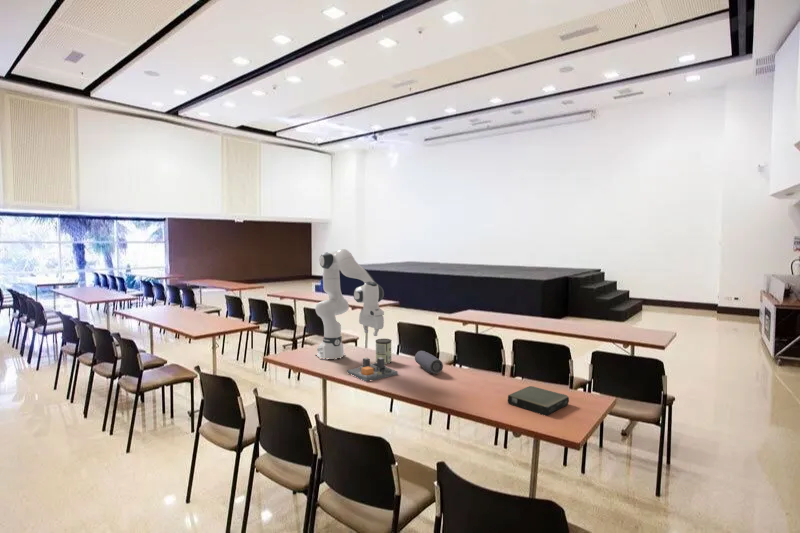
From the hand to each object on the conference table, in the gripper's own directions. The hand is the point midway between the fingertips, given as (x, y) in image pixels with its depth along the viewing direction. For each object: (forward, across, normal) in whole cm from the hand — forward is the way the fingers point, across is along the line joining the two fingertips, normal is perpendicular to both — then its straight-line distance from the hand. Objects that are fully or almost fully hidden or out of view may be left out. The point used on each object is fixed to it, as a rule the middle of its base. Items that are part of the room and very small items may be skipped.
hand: (370, 334), depth 258 cm
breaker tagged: (+22, -9, +3) cm, 24 cm away
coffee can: (+25, -20, +24) cm, 40 cm away
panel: (+25, -2, +3) cm, 25 cm away
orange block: (+23, +2, -4) cm, 23 cm away
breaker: (+22, -4, +10) cm, 25 cm away
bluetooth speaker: (+24, +12, +34) cm, 44 cm away
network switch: (+24, +86, +40) cm, 97 cm away
